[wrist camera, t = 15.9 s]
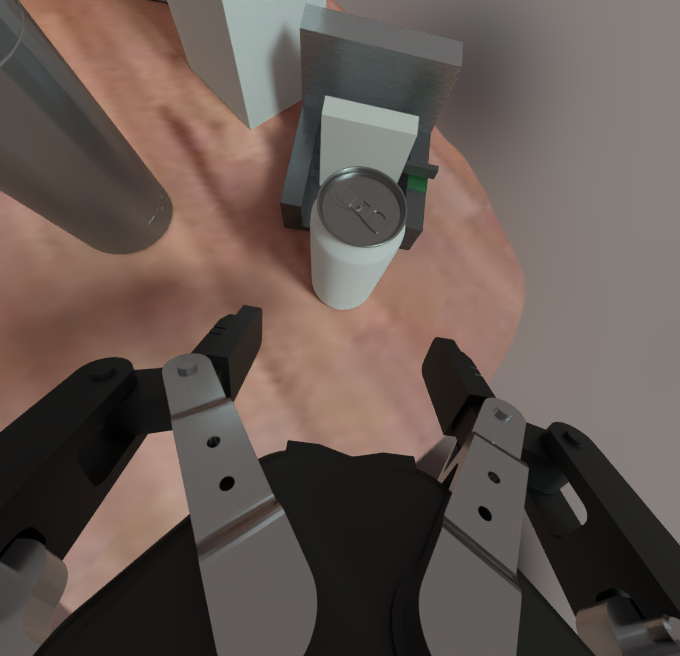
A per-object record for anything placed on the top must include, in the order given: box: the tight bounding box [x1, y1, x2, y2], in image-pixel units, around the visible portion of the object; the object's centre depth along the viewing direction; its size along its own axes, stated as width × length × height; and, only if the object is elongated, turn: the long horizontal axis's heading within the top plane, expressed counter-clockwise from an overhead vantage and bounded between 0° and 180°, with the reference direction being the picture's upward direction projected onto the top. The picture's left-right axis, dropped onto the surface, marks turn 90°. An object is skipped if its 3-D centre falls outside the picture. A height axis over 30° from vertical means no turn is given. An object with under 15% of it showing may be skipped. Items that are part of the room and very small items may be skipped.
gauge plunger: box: [320, 95, 439, 186], centre depth 25 cm, size 12×2×8 cm, turn 81°
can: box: [310, 166, 408, 310], centre depth 21 cm, size 6×6×12 cm
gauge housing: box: [280, 3, 463, 250], centre depth 25 cm, size 14×15×10 cm
